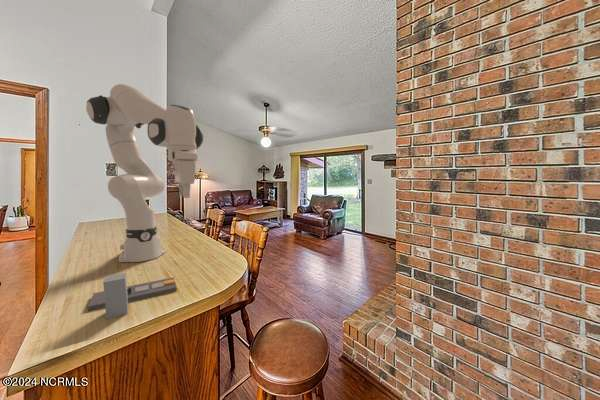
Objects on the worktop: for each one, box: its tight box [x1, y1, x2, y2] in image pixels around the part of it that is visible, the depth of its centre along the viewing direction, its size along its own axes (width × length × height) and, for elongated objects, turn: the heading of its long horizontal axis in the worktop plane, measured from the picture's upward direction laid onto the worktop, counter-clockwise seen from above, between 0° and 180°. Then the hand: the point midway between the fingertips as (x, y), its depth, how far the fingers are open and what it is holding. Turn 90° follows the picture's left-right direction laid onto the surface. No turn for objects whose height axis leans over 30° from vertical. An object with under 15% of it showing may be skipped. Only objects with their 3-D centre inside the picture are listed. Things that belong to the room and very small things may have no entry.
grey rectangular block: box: [102, 272, 129, 320], centre depth 66 cm, size 4×4×11 cm
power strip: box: [87, 277, 178, 312], centre depth 77 cm, size 9×22×3 cm, turn 123°
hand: (184, 196), depth 82 cm, fingers open, 8 cm apart
